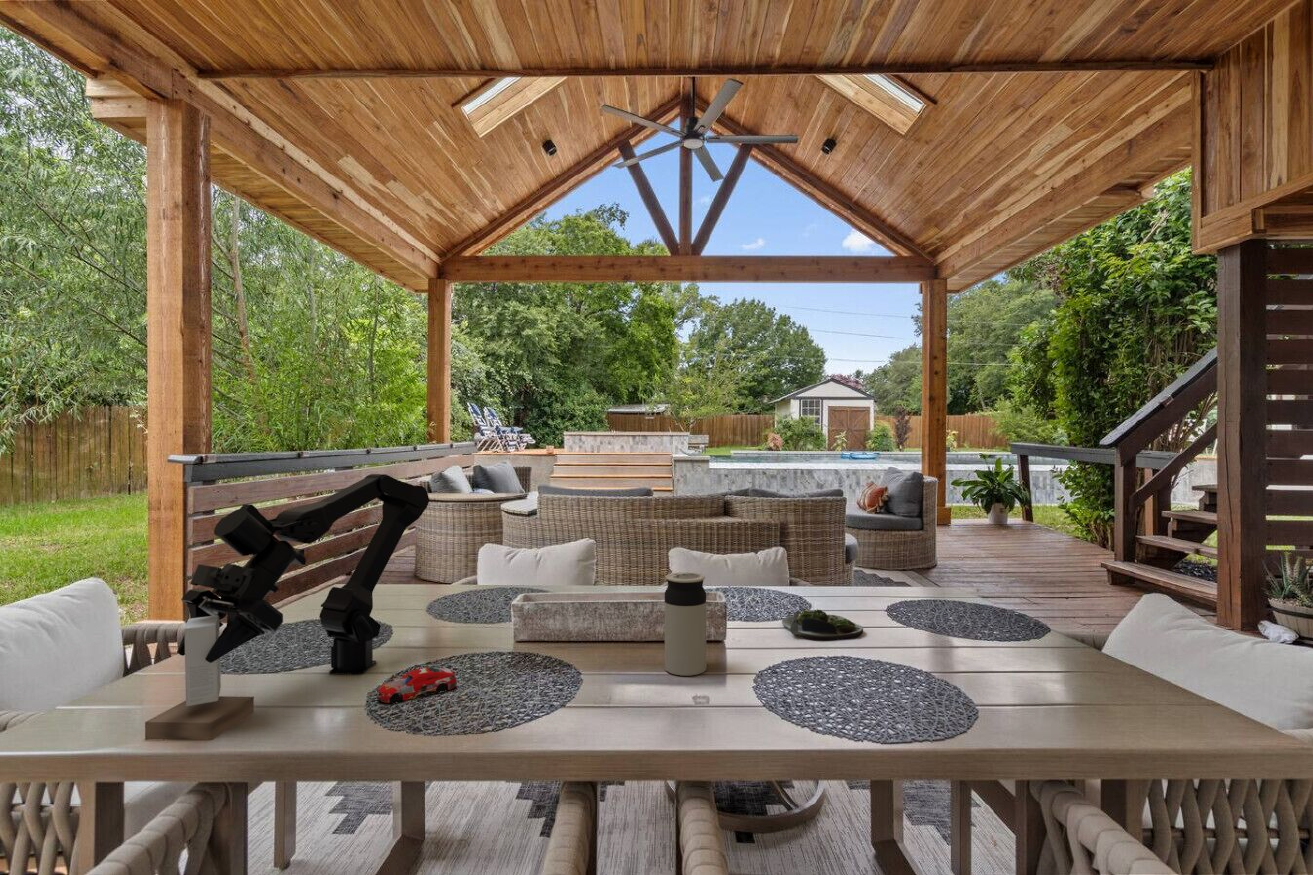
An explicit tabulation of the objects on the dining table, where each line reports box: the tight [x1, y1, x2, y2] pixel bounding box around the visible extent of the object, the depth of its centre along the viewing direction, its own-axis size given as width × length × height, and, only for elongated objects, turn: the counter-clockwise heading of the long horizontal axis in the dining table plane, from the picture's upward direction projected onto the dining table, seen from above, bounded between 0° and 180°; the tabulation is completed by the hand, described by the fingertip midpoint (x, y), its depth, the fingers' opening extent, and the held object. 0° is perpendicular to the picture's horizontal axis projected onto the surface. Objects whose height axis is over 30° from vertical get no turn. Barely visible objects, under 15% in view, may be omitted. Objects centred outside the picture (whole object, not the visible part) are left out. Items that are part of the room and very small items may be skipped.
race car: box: [376, 666, 458, 704], centre depth 117 cm, size 13×5×4 cm, turn 124°
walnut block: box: [144, 695, 255, 741], centre depth 104 cm, size 10×10×3 cm
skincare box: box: [183, 616, 222, 706], centre depth 104 cm, size 6×4×12 cm
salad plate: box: [781, 608, 864, 642], centre depth 156 cm, size 19×18×5 cm
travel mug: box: [664, 571, 707, 677], centre depth 128 cm, size 8×8×18 cm
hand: (193, 657), depth 103 cm, fingers closed on skincare box, 7 cm apart
